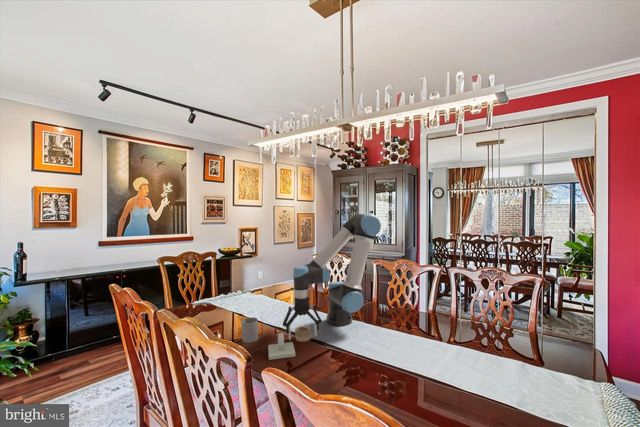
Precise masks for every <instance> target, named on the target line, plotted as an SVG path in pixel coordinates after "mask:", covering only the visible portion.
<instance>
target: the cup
mask: <svg viewBox="0 0 640 427" xmlns="http://www.w3.org/2000/svg"><path fill="white" fill-rule="evenodd" d="M240 323H241V326H240V327H241V342H242V343H244V344H245V343H247V344H249V343H250V344H251V343H254V342H255V343H256V342H257V341H258V340H259V324H258V323H259V322H258V318H257V317H254V316H253V317H246V318H243V319H242V320H241V322H240Z"/></svg>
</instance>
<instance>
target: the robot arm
mask: <svg viewBox="0 0 640 427" xmlns="http://www.w3.org/2000/svg"><path fill="white" fill-rule="evenodd" d="M381 228H382V223H381V220H380V219H379V218H378V216H376V215H374V214H371V213H363V214H362V213H357V214H354V215H352V216H351V217H350V218H349V219H347V221H346V222H345V223H344V224H343V225H342V226H340V231H339V232H337V234H336V235H335V236H334V237H332V239H331V240H330V241H329V242H328V243H327V244H326V245H325V247H324V248H323V249H322V250H321V251H320V252H319V253H318V254H316V256H315V257H314V258H313V259H312V260H311V261H310V263H309V262H308V263H305V264H304V265H303V266H302V265H298V266H295V267H294V268H293V276H292V278H293V295H294V296H293V299H294V305H293V306H292V307H291V306H288V310H287V312H286V314H285V317H284V320H283V322H282V327H285V329H286V330H285V331H286V334H288V341H291V340H292V338H291V337H292V336H291V334H292V332H291V325H292V323H293V322H294V320H295V319H296V318H298V316H306V315H307V316H308V317H309V318H311V320H312V321H313V322H314V324H313V328H314V330H313V332H314V338H317V337H318V333H317V332H318V331H319V328H320V327H319V326H320V323H322V322H323V320H322V319H321V317H320V315H319V313H318V310H316V305H315V304H314V303H313V304H311V305H310V297H309V296H310V294H309V293H310V292H309V290H310V288H309V285H316V284H317V285H318V284H324V283H328V287H327V291H328V292H327V293H328V312H327V314H326V323H327V324H328V325H331V326H337V327H343V326H347V325H350V324H351V323H352V322H353V315H352V313H356V312H358V311H359V310H361V309H362V308H363V305H364V297H363V294H362V293H363V288H362V287H363V286H362V279H363V275H364V272H365V267H366V263H367V259H368V256H369V250H370V246H371V243H372V242H374V240H375V237H376V235H378V234H379V233H380V231H381ZM354 238H355V240H354V244H353V248H352V251H351V257H350V260H349V264H348V269H347V273H346V278H345V280H344V281H342V280H341V281H333V282H330V280H331V272H330V269H329V268H328V267H326V266H327V264H328V263H330V261H331V260H332V259H333V258H334V257H335V256H336V255H337V253H338V252H339V251H341V250H342V248H344V246H346V244H347V243H348V242H349V241H350V240H351V239H354ZM329 282H330V283H329ZM310 309H311V310H312V311H313V312H314V314H315V316H316V317H315V316H314V315H313V314H312V313H311V312H310ZM293 311H294V313H293V315H291V313H292V312H293Z"/></svg>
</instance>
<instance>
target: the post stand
mask: <svg viewBox="0 0 640 427" xmlns="http://www.w3.org/2000/svg"><path fill="white" fill-rule="evenodd" d="M284 336H285V334H284V333H283V332H279V333H277V343H274V344H268V345H267V348H268V360H269V361H270V360H278V359H286V358H293V357H296V350H295V345H294V342H293V341H290V342H285V337H284Z"/></svg>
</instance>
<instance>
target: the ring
mask: <svg viewBox="0 0 640 427" xmlns="http://www.w3.org/2000/svg"><path fill="white" fill-rule="evenodd" d="M294 333H295V341H297V342H300V343H304V342H308V341H310V340H312V333H311V327H310V326H308V325H307V326H306V325H302V326H301V325H300V326H298V327H296V328H295V329H294Z"/></svg>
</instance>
